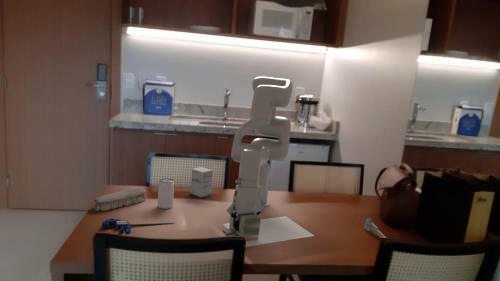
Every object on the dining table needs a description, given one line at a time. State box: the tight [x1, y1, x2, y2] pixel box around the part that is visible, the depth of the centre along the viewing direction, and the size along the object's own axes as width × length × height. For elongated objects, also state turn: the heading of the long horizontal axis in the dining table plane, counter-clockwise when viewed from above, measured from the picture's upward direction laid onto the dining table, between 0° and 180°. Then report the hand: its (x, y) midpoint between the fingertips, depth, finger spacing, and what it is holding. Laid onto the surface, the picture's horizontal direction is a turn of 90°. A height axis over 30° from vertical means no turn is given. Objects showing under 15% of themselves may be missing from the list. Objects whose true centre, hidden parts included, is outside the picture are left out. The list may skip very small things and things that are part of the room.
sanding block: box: [229, 210, 262, 240], centre depth 140 cm, size 12×6×8 cm, turn 29°
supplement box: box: [189, 166, 214, 198], centre depth 183 cm, size 7×7×13 cm
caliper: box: [363, 216, 387, 239], centre depth 151 cm, size 20×1×6 cm, turn 17°
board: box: [222, 215, 315, 247], centre depth 147 cm, size 20×30×2 cm, turn 119°
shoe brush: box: [93, 188, 147, 212], centre depth 161 cm, size 24×8×5 cm, turn 143°
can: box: [157, 177, 175, 210], centre depth 163 cm, size 6×6×12 cm
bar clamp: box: [101, 217, 174, 234], centre depth 142 cm, size 32×2×10 cm
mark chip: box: [222, 228, 236, 236], centre depth 141 cm, size 4×4×1 cm
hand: (243, 227), depth 141 cm, fingers closed on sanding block, 6 cm apart
